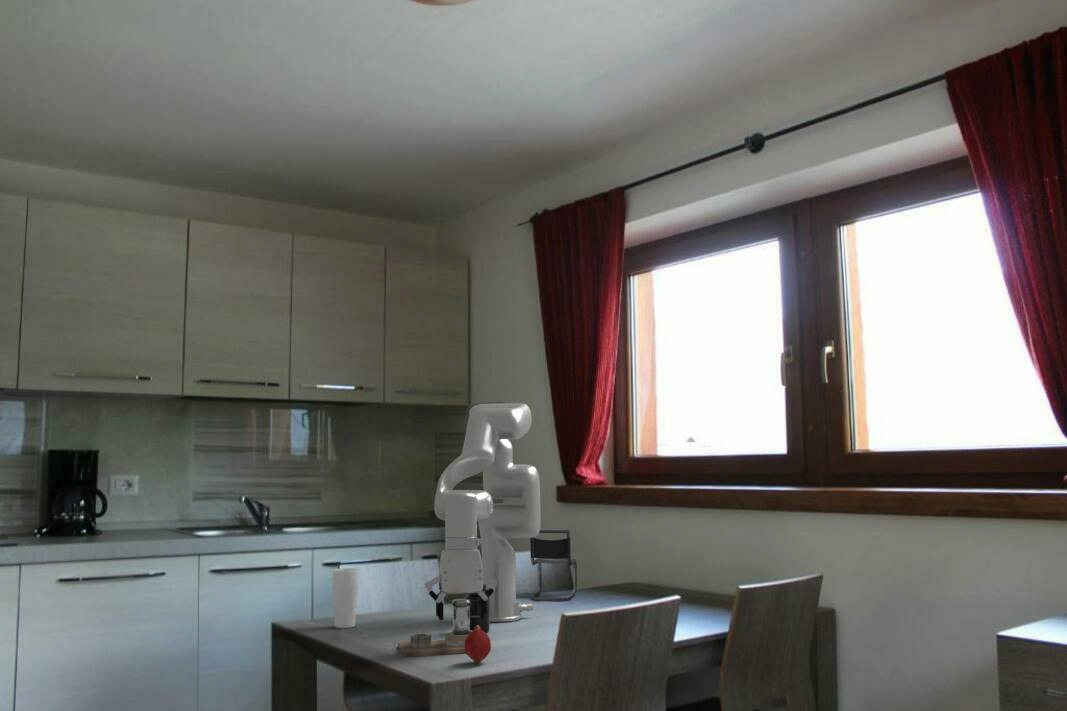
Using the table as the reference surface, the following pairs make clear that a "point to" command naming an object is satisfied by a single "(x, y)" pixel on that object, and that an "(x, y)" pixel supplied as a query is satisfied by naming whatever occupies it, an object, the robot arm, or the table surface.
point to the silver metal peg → (461, 616)
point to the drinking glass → (345, 596)
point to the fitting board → (433, 645)
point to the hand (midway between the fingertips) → (461, 618)
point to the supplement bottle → (474, 617)
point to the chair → (552, 551)
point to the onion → (477, 645)
